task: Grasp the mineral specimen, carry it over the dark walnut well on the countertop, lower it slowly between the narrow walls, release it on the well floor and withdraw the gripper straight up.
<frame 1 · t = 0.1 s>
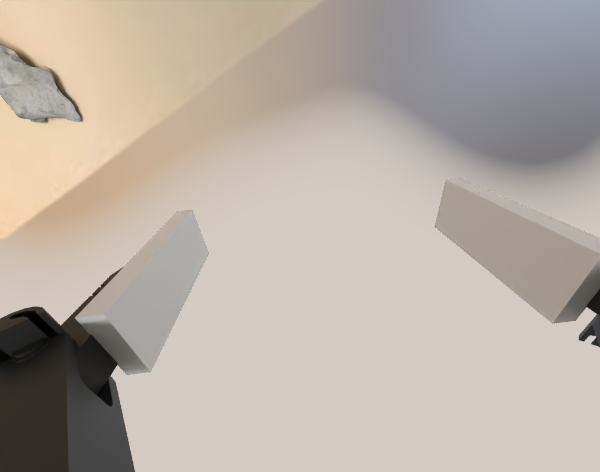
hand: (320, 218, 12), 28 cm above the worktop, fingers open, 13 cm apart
mineral specimen: (35, 81, 31), on the worktop
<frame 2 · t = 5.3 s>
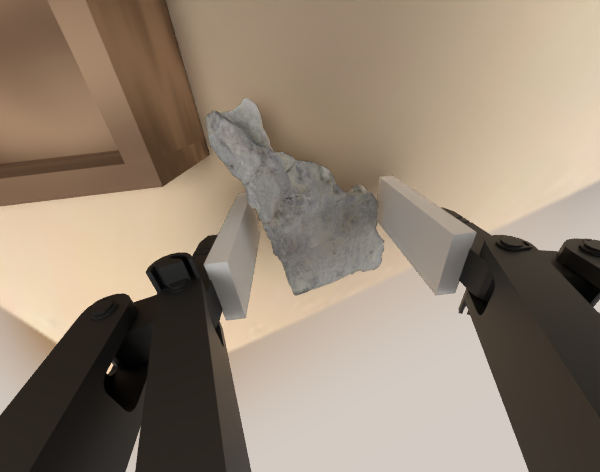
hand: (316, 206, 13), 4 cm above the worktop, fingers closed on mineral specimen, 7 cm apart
mineral specimen: (310, 209, 14), point 3 cm above the worktop, touching gripper
when the fingers open (3 cm above the worktop, at t = 10.9 s): mineral specimen drops 1 cm, resting on walnut well.
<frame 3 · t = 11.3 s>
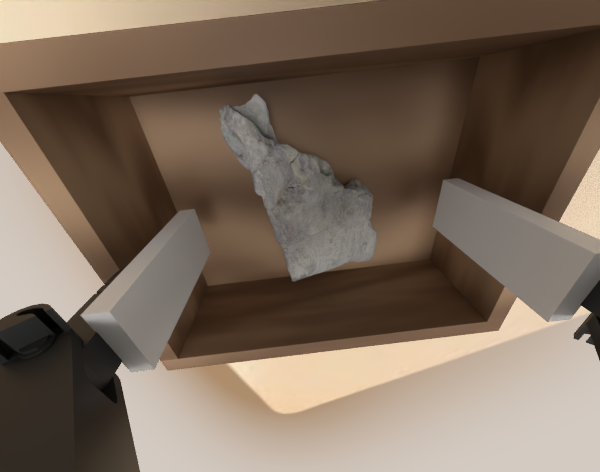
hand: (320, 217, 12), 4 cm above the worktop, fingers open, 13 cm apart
walnut well: (312, 191, 16), on the worktop
mineral specimen: (310, 201, 15), point 1 cm above the worktop, touching walnut well
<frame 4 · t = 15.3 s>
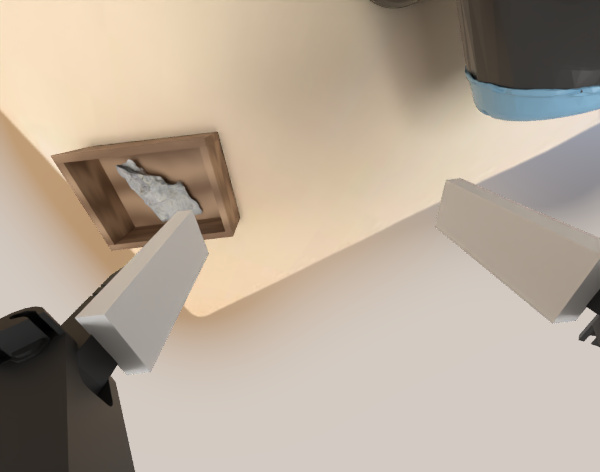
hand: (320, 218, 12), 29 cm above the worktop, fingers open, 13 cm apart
walnut well: (172, 185, 39), on the worktop
mineral specimen: (168, 191, 39), point 1 cm above the worktop, touching walnut well
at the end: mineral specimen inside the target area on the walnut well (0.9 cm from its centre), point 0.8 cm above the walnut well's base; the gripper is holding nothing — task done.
